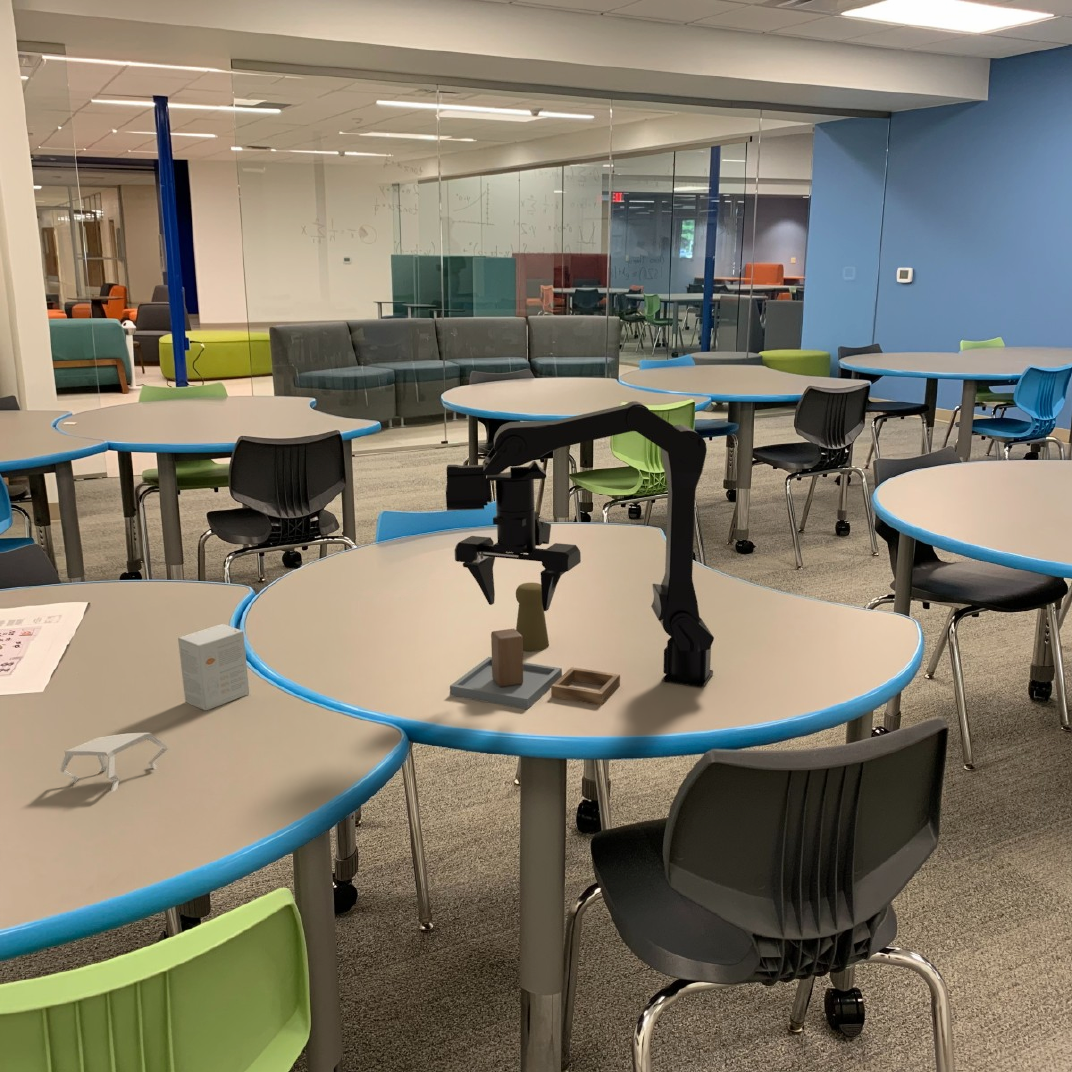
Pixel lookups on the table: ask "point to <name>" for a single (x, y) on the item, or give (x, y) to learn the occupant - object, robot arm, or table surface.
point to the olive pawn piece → (531, 617)
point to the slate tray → (522, 695)
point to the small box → (213, 666)
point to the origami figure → (110, 752)
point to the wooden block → (507, 657)
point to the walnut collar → (584, 695)
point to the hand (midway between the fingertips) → (518, 607)
